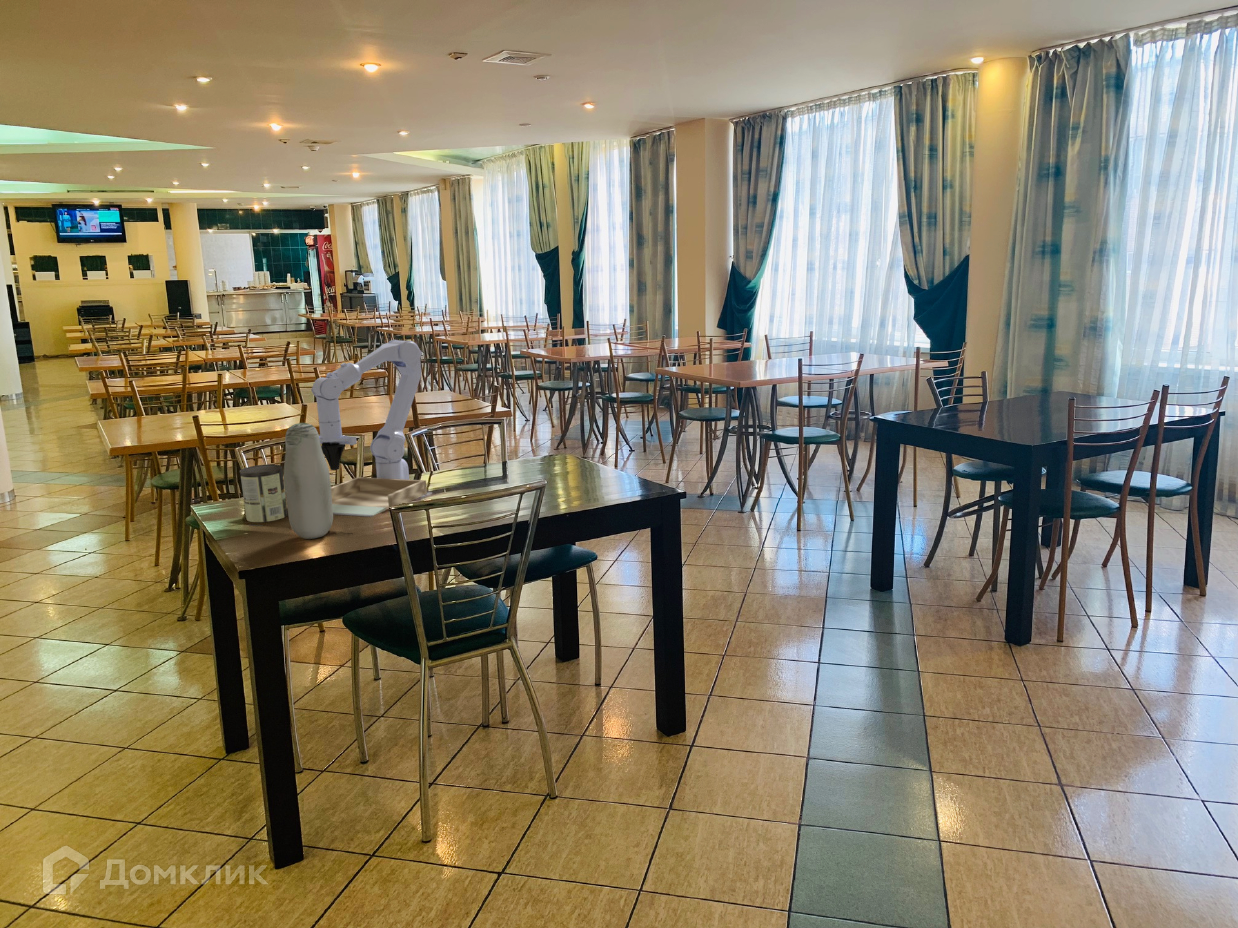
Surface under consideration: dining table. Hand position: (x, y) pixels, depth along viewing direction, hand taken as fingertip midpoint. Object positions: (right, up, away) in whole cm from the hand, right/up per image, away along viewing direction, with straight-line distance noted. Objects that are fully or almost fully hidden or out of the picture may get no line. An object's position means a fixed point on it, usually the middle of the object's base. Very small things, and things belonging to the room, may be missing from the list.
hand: (334, 469), depth 248 cm
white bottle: (+5, -16, -32) cm, 37 cm away
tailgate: (+9, -10, -10) cm, 17 cm away
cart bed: (+12, -9, -2) cm, 15 cm away
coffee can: (-12, -14, -16) cm, 24 cm away
